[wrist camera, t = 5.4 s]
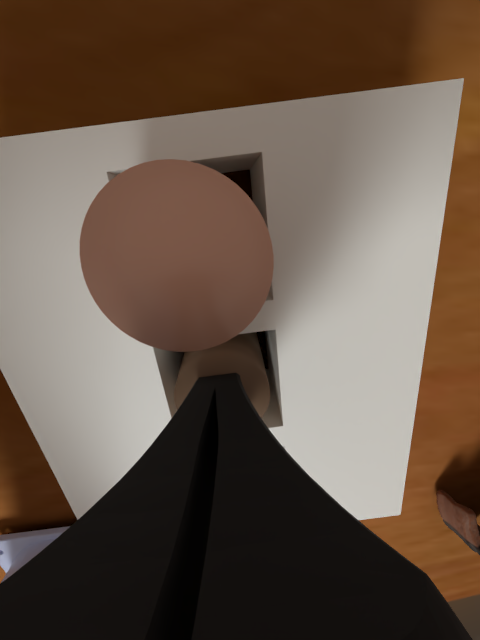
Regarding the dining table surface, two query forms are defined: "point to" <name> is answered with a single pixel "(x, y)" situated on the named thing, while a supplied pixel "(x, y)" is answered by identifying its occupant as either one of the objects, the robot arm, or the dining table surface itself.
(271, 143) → the socket board
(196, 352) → the walnut plug
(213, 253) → the terracotta plug
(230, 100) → the dining table surface
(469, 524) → the brown strap loop
